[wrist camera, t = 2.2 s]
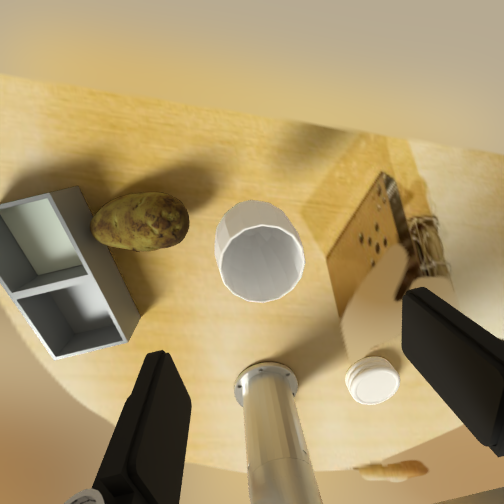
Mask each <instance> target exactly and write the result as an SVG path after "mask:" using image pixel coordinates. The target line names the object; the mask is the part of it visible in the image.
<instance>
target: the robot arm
mask: <svg viewBox="0 0 504 504" xmlns="http://www.w3.org/2000/svg"><path fill="white" fill-rule="evenodd" d="M402 350H403V353H404V355H405V356H406V357H407V358H408V360H409V361H410V362H411V363H412V364H413V365H414V367H415V368H416V369H417V370H418V371H419V372H420V374H421V375H422V376H423V377H424V378H425V379H426V380H427V382H428V383H429V384H430V385H431V386H432V387H433V389H434V390H435V391H436V392H437V393H438V394H439V396H440V397H441V398H442V399H443V400H444V401H445V403H446V404H447V405H448V406H449V407H450V408H451V409H452V411H453V412H454V413H455V414H456V415H457V416H458V418H459V419H460V420H461V421H462V422H463V423H464V425H465V426H466V427H467V428H468V429H469V430H470V431H471V433H472V434H473V435H474V436H475V437H476V439H477V440H478V441H479V442H480V443H481V444H483V445H484V446H489V447H490V449H491V450H492V451H493V452H494V453H495V454H496V455H497V456H498V457H501V456H504V342H502V341H501V340H499V339H498V338H497V337H495V336H494V335H492V334H491V333H490V332H488V331H487V330H485V329H484V328H482V327H481V326H480V325H478V324H477V323H475V322H474V321H472V320H471V319H470V318H468V317H467V316H465V315H464V314H462V313H461V312H460V311H458V310H457V309H455V308H454V307H452V306H451V305H450V304H448V303H447V302H445V301H444V300H443V299H441V298H440V297H438V296H437V295H435V294H434V293H432V292H431V291H430V290H428V289H427V288H425V287H420V288H415V289H411V290H408V291H407V292H406V295H404V296H403V299H402ZM297 389H298V382H297V379H296V376H295V374H294V372H293V371H292V370H291V369H290V368H288V367H287V366H285V365H283V364H279V363H274V362H264V363H259V364H256V365H253V366H251V367H249V368H247V369H246V370H245V371H243V372H242V373H241V374H240V375H239V376H238V378H237V380H236V382H235V385H234V394H235V398H236V400H237V402H238V403H239V404H240V405H241V406H242V407H243V411H244V426H245V441H246V456H247V471H248V485H249V497H250V501H251V504H323V503H322V499H321V496H320V492H319V489H318V485H317V482H316V478H315V475H314V471H313V467H312V463H311V460H310V456H309V452H308V449H307V445H306V441H305V438H304V434H303V430H302V427H301V423H300V419H299V416H298V412H297V408H296V405H295V401H294V397H295V395H296V393H297ZM191 407H192V406H191V399H190V396H189V394H188V392H187V390H186V388H185V386H184V384H183V381H182V379H181V377H180V375H179V373H178V371H177V368H176V366H175V364H174V362H173V360H172V358H171V356H170V354H169V353H165V352H164V351H163V350H161V351H156V352H152V353H148V354H147V355H146V357H145V359H144V362H143V365H142V367H141V370H140V373H139V375H138V378H137V380H136V383H135V386H134V388H133V391H132V393H131V395H130V396H129V397H128V398H127V400H126V402H125V405H124V407H123V410H122V412H121V415H120V417H119V420H118V422H117V425H116V427H115V430H114V433H113V435H112V438H111V440H110V443H109V446H108V448H107V450H106V453H105V455H104V458H103V460H102V463H101V466H100V468H99V471H98V473H97V476H96V478H95V481H94V483H93V486H92V488H91V489H86V490H83V491H81V492H79V493H77V494H75V495H74V496H72V497H71V498H70V499H69V500H67V501H66V502H65V503H64V504H179V500H180V492H181V485H182V477H183V469H184V462H185V454H186V446H187V439H188V431H189V424H190V416H191ZM435 504H504V487H502V488H498V489H493V490H489V491H485V492H481V493H477V494H472V495H468V496H464V497H460V498H456V499H452V500H447V501H443V502H439V503H435Z"/></svg>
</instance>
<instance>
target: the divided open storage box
mask: <svg viewBox="0 0 504 504" xmlns="http://www.w3.org/2000/svg"><path fill="white" fill-rule="evenodd" d="M92 218H93V216H92V214H91V212H90V210H89V208H88V205H87V203H86V201H85V199H84V197H83V195H82V193H81V191H80V189H79V187H78V186H75V187H71V188H67V189H62V190H58V191H54V192H50V193H45V194H41V195H37V196H33V197H29V198H25V199H21V200H16V201H12V202H8V203H4V204H0V283H1V285H2V286H3V288H4V289H5V290H6V292H7V293H8V295H9V296H10V298H11V299H12V301H13V302H14V303H15V305H16V306H17V308H18V309H19V311H20V312H21V314H22V315H23V316H24V318H25V319H26V321H27V322H28V324H29V325H30V326H31V328H32V329H33V331H34V332H35V334H36V335H37V337H38V338H39V339H40V341H41V342H42V344H43V345H44V347H45V348H46V349H47V351H48V352H49V354H50V355H51V357H52V358H53V360H58V359H62V358H66V357H70V356H74V355H78V354H83V353H87V352H91V351H95V350H99V349H103V348H107V347H111V346H115V345H119V344H124V343H128V342H129V340H130V338H131V336H132V334H133V332H134V330H135V328H136V326H137V324H138V322H139V320H140V318H141V317H140V314H139V312H138V310H137V308H136V306H135V304H134V302H133V300H132V298H131V296H130V293H129V291H128V289H127V287H126V285H125V283H124V281H123V279H122V277H121V275H120V272H119V270H118V268H117V266H116V264H115V262H114V260H113V258H112V256H111V254H110V252H109V249H108V247H107V245H104V244H102V243H100V242H99V241H97V240H96V239H95V238H94V237H93V235H92V233H91V231H90V222H91V220H92Z"/></svg>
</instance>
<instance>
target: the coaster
mask: <svg viewBox="0 0 504 504" xmlns="http://www.w3.org/2000/svg"><path fill="white" fill-rule="evenodd" d="M345 382H346V386H347V387H348V389H349V391H350V393H351V395H352V397H353V398H354V399H355V400H356V401H357V402H359V403H361V404H366V405H374V404H378V403H381V402H384V401H386V400H388V399H389V398H391V397H392V396H393V395H394V394H395V393H396V391H397V390H398V388H399V385H400V377H399V374H398V372H397V371H396V370H395V369H394V367H393V366H392V365H391V363H390V362H389V361H388V360H386V359H385V358H382V357H378V356H372V357H366V358H363V359H360V360H358V361H357V362H355V363H354V364H353V365H352V366H351V367H350V368H349V369H348V371H347V373H346V376H345Z"/></svg>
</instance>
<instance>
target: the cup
mask: <svg viewBox="0 0 504 504" xmlns="http://www.w3.org/2000/svg"><path fill="white" fill-rule="evenodd" d="M215 257H216V261H217V264H218V267H219V271H220V274H221V277H222V280H223V283H224V284H225V285H226V286H227V288H228V289H229V290H230V291H231V292H232V293H233V294H234V295H236V296H238V297H240V298H242V299H244V300H246V301H250V302H261V303H264V302H268V301H272V300H276V299H279V298H281V297H282V296H284V295H285V294H287V293H289V292H290V291H292V290H293V288H294V287H295V286H296V284H297V283H298V281H299V280H300V279H301V277H302V274H303V270H304V266H305V257H304V251H303V246H302V243H301V240H300V237H299V234H298V232H297V231H296V229H295V228H294V226H293V225H292V223H291V222H290V220H289V219H288V218H287V216H286V215H285V214H284V212H283V211H282V210H280V209H279V208H277V207H275V206H274V205H272V204H270V203H268V202H262V201H256V200H248V201H244V202H240V203H238V204H236V205H235V206H234V207H232V208H231V209H229V210H228V211H227V212H226V213H225V214H224V216H223V218H222V219H221V221H220V223H219V224H218V226H217V228H216V237H215Z"/></svg>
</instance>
